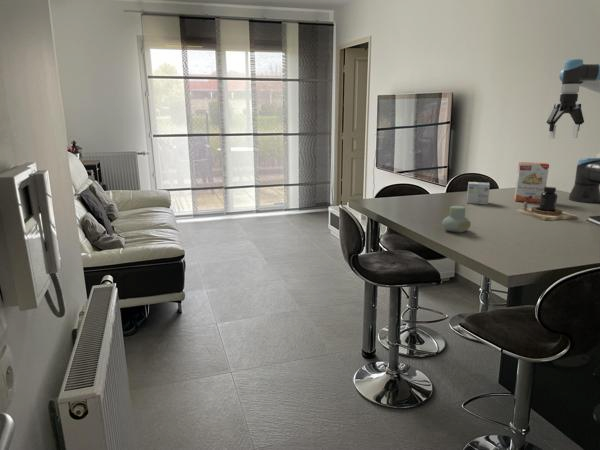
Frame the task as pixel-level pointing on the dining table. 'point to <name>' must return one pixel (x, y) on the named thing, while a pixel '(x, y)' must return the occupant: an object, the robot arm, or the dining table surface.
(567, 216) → the seat plate
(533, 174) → the cracker box
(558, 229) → the dining table surface
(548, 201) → the supplement bottle
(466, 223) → the air freshener
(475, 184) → the light bulb box
